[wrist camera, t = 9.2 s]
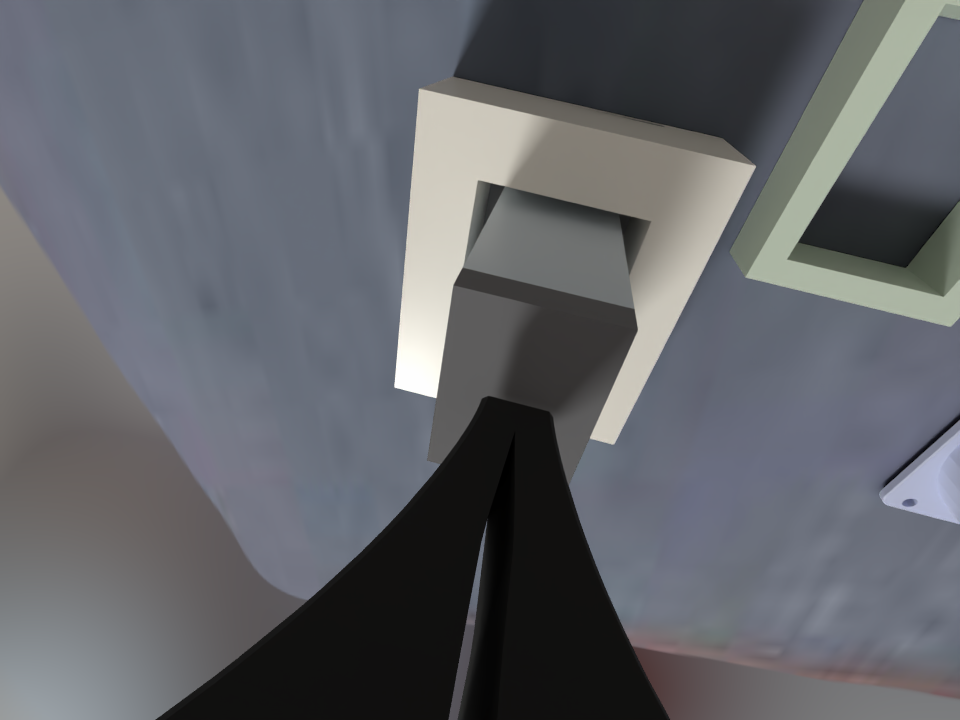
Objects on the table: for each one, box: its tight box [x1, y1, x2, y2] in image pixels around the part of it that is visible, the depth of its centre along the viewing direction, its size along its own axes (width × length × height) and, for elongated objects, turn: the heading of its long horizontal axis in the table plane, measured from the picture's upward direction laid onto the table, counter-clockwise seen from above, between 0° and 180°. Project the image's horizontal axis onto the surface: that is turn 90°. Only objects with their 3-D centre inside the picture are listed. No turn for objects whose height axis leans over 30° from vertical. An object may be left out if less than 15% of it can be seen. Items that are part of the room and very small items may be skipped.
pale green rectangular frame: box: [729, 0, 960, 327], centre depth 12 cm, size 6×8×2 cm
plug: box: [427, 187, 638, 486], centre depth 13 cm, size 4×5×8 cm
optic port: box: [395, 77, 756, 445], centre depth 15 cm, size 8×10×4 cm
